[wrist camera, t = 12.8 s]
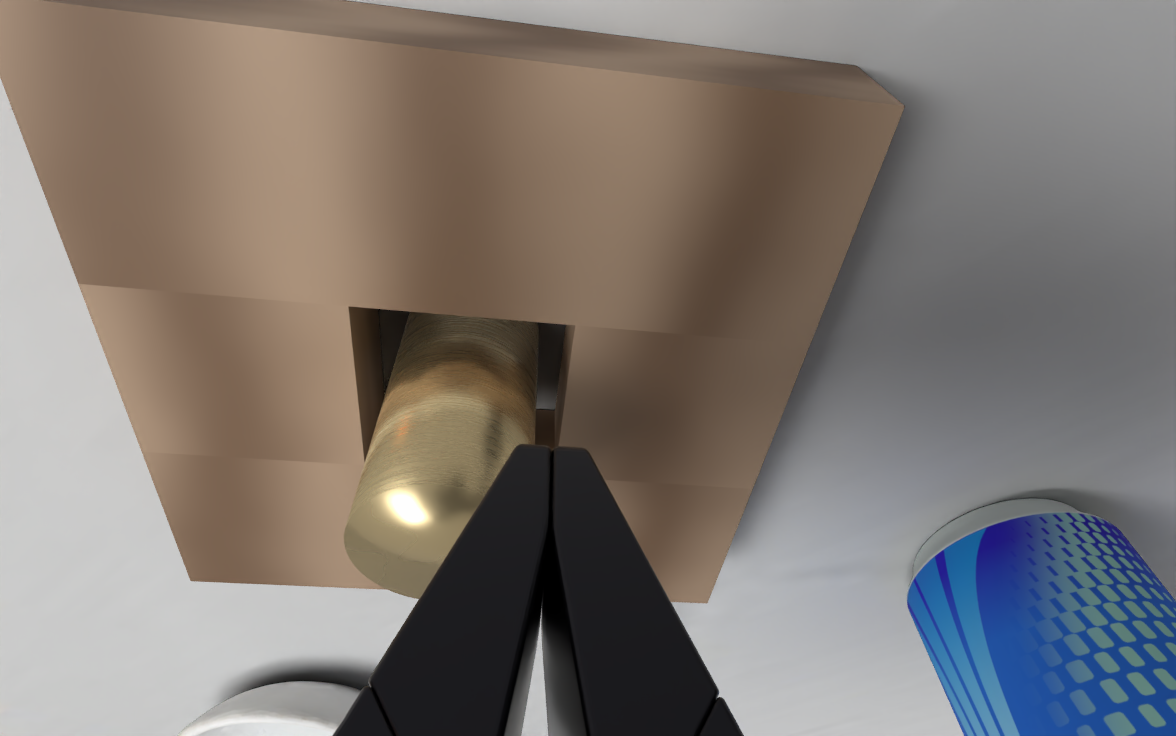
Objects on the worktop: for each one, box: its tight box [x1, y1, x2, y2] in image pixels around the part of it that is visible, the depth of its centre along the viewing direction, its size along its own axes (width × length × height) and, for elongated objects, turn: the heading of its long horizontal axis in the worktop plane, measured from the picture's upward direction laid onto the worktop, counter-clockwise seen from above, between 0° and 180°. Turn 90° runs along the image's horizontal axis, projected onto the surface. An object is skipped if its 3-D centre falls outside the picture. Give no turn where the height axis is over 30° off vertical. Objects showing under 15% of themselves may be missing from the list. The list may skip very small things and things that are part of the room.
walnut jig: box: [0, 0, 905, 603], centre depth 20 cm, size 18×18×3 cm
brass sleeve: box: [344, 312, 539, 599], centre depth 18 cm, size 4×4×8 cm
